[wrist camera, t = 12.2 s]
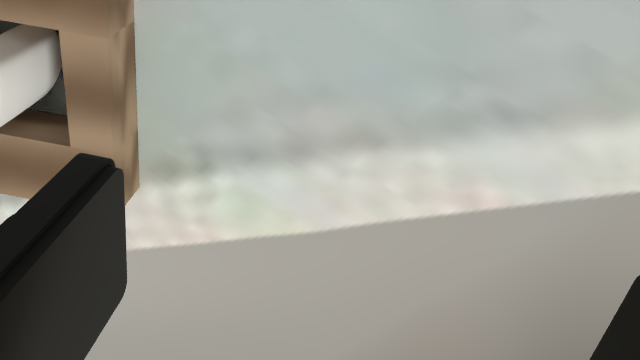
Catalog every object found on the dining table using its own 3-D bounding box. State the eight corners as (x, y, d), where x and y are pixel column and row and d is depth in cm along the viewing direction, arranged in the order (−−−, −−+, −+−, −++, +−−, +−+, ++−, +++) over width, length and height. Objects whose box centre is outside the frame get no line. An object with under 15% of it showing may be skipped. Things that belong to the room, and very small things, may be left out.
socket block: (-86, -97, 37) (-137, -90, 33) (131, -60, 36) (101, -49, 33) (-34, 154, 46) (-70, 179, 43) (139, 186, 45) (117, 215, 42)
